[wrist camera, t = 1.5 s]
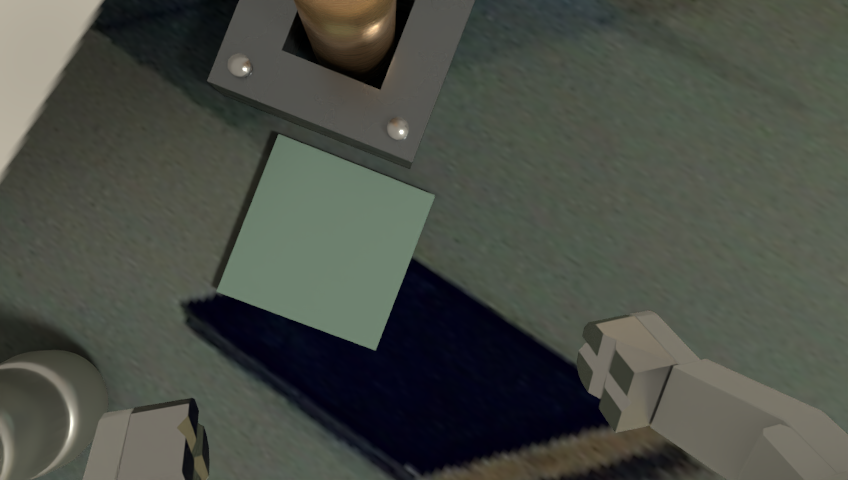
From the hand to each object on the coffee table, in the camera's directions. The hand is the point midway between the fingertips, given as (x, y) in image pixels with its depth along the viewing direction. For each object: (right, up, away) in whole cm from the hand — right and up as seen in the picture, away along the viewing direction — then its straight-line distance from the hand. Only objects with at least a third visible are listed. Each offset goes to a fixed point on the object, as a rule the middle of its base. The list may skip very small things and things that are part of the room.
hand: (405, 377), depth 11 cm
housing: (-4, +15, +22) cm, 27 cm away
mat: (-5, +3, +22) cm, 23 cm away
